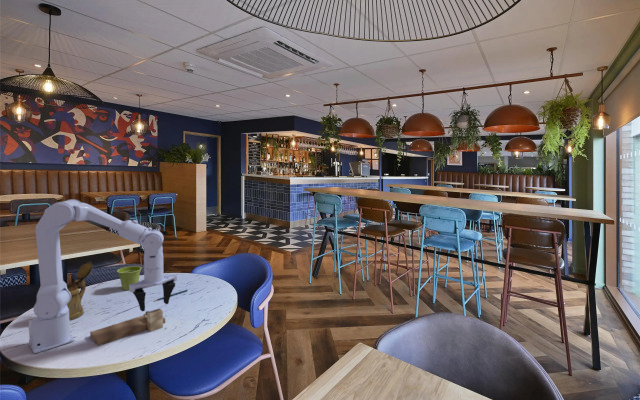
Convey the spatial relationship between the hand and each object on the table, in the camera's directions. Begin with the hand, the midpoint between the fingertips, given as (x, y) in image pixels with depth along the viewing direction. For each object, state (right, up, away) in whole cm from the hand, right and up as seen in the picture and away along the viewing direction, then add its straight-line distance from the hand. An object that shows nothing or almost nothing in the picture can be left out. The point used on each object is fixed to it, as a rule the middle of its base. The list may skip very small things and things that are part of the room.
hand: (154, 306), depth 107 cm
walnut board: (-8, -8, 0) cm, 11 cm away
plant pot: (-30, -4, +36) cm, 47 cm away
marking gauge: (-2, -7, +3) cm, 8 cm away
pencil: (-8, -6, +28) cm, 30 cm away
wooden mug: (-35, -6, +10) cm, 37 cm away
